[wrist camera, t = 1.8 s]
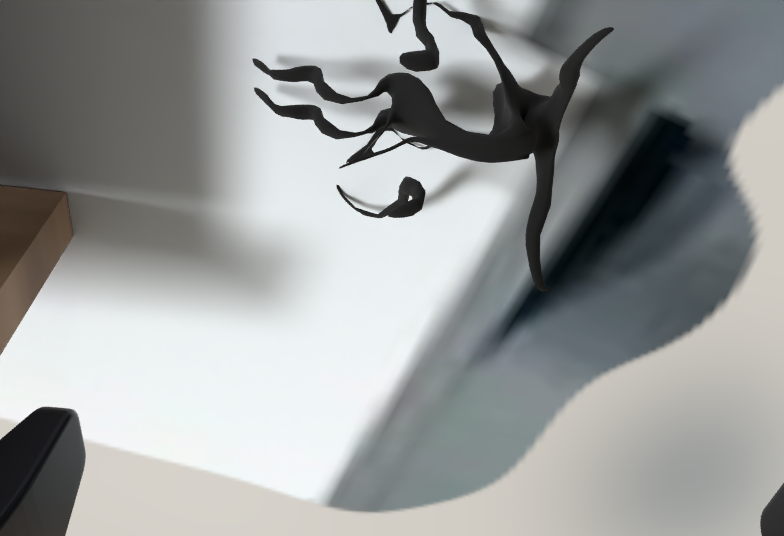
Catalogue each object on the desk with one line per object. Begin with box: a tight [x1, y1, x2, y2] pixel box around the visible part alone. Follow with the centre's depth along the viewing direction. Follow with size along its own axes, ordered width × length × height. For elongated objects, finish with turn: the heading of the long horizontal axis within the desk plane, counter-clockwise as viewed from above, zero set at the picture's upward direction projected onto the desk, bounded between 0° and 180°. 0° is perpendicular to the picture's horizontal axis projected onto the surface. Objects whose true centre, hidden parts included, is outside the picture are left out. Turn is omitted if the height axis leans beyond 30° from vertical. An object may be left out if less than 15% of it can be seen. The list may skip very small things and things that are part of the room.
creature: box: [253, 0, 614, 291], centre depth 17 cm, size 8×5×8 cm
